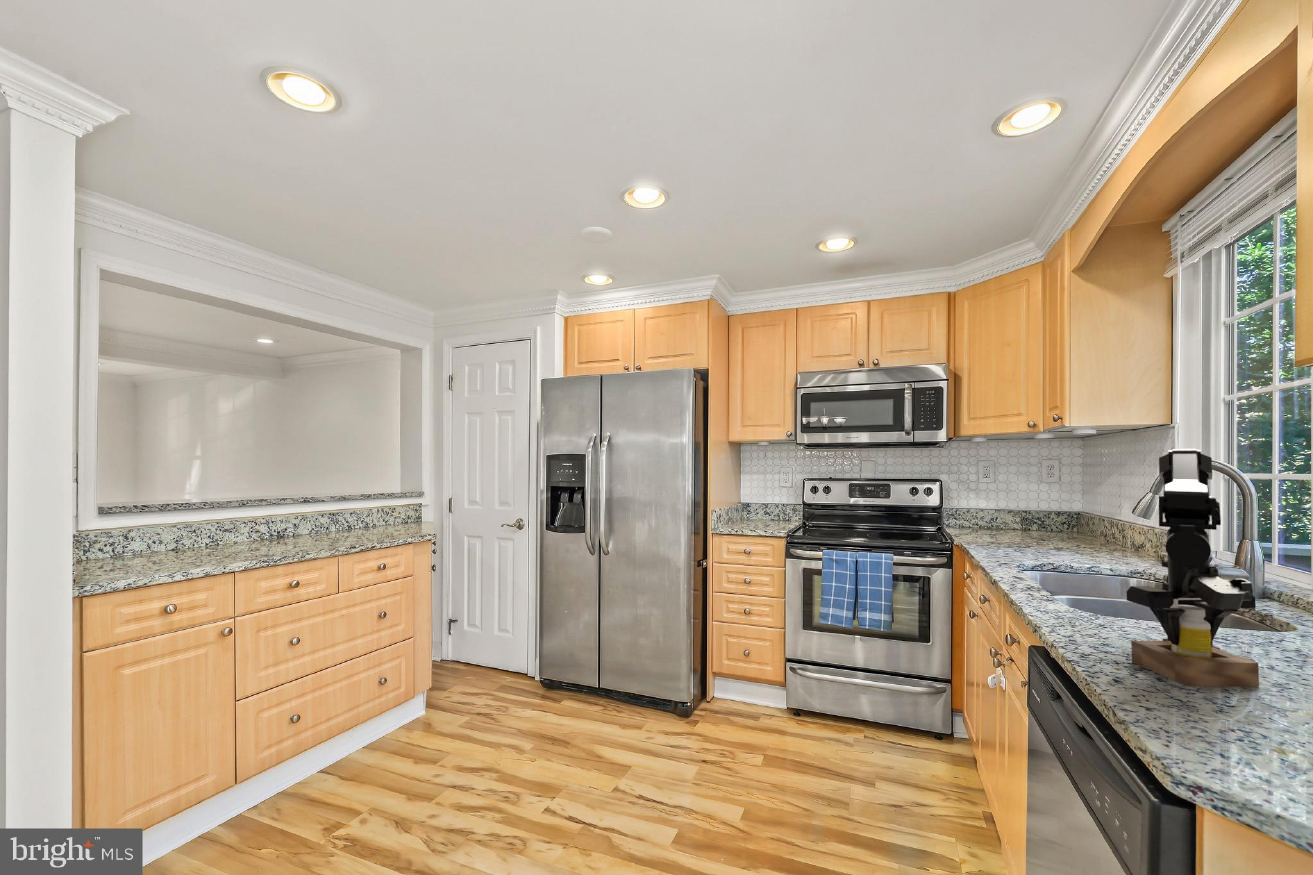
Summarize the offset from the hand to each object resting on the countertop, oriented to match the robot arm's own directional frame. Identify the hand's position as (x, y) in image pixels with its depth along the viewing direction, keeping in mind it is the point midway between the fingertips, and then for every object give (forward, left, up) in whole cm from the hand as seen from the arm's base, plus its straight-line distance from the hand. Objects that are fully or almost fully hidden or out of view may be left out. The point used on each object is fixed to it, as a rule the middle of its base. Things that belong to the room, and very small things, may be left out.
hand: (1190, 644), depth 106 cm
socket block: (0, 0, -5) cm, 5 cm away
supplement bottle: (0, 0, -3) cm, 3 cm away
